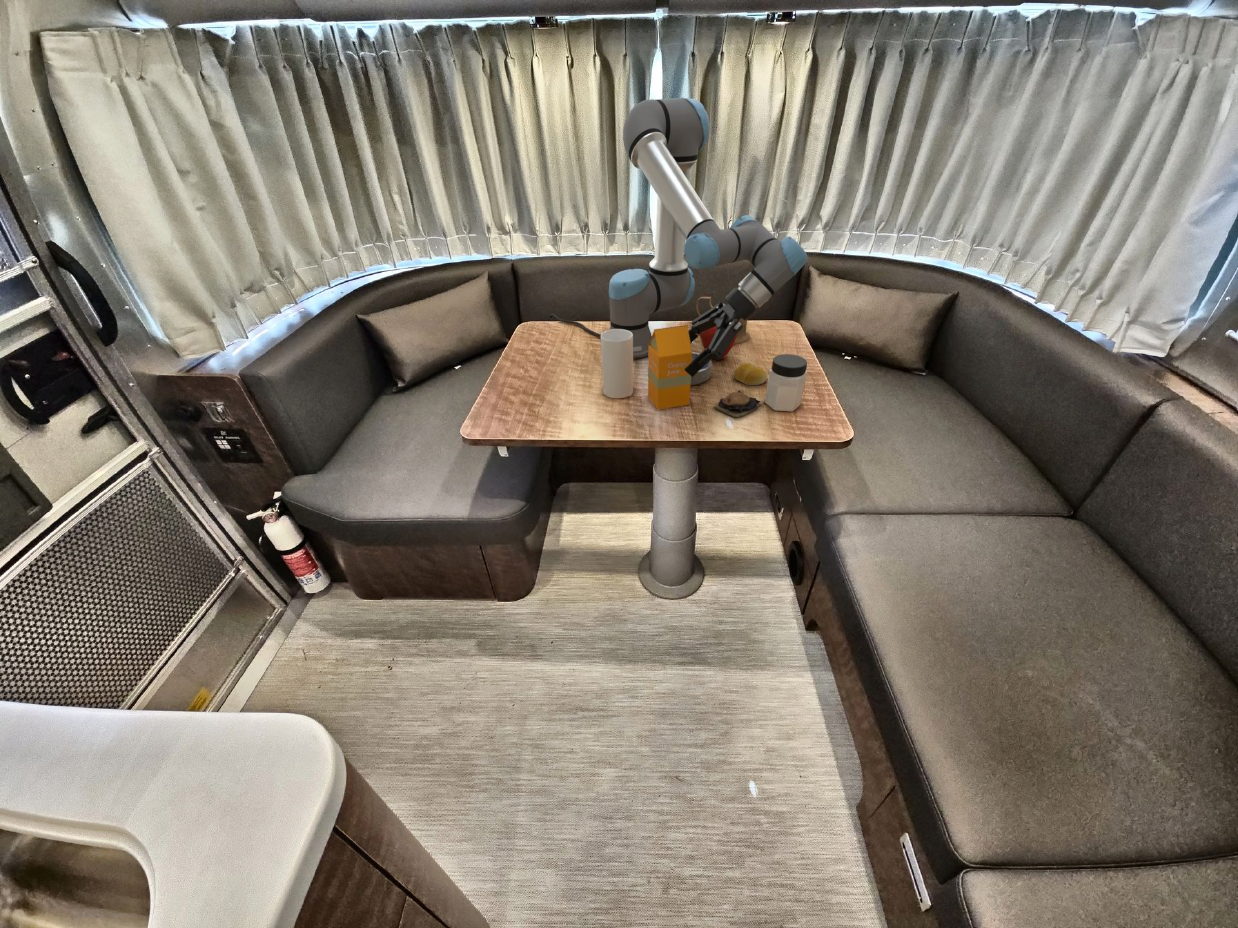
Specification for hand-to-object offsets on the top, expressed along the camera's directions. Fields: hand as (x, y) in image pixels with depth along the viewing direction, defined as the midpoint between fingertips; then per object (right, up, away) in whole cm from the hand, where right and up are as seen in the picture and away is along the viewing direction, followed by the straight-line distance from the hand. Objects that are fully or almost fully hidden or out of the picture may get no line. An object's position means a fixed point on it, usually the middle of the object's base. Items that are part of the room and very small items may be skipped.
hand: (681, 361), depth 133 cm
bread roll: (+21, -2, +16) cm, 26 cm away
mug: (+18, +16, +42) cm, 48 cm away
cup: (-16, -6, +12) cm, 21 cm away
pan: (+3, 0, +19) cm, 19 cm away
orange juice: (-3, -9, +7) cm, 12 cm away
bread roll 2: (+15, -11, +3) cm, 19 cm away
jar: (+26, -10, +4) cm, 28 cm away
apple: (+14, +6, +28) cm, 32 cm away
